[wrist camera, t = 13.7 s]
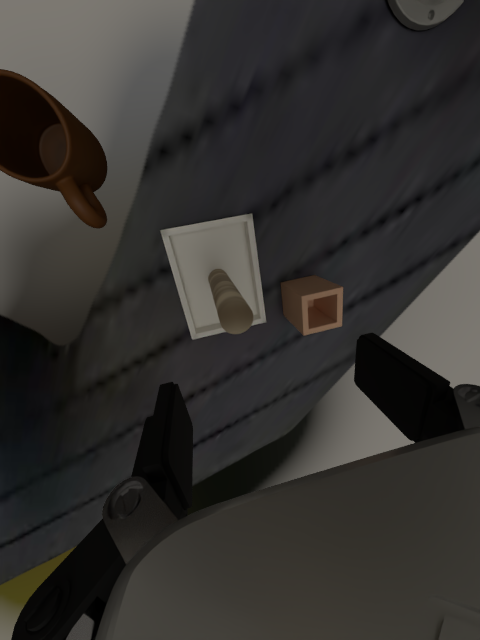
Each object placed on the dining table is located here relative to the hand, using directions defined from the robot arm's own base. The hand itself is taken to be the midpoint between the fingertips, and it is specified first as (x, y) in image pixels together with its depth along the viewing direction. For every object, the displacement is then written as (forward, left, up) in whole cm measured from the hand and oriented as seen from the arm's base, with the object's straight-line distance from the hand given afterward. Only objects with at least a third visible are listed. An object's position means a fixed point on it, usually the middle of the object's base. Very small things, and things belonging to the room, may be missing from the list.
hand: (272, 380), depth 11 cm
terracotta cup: (+6, +13, -26) cm, 30 cm away
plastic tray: (0, 0, -26) cm, 26 cm away
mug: (-15, -13, -26) cm, 33 cm away
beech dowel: (0, 0, -25) cm, 25 cm away
